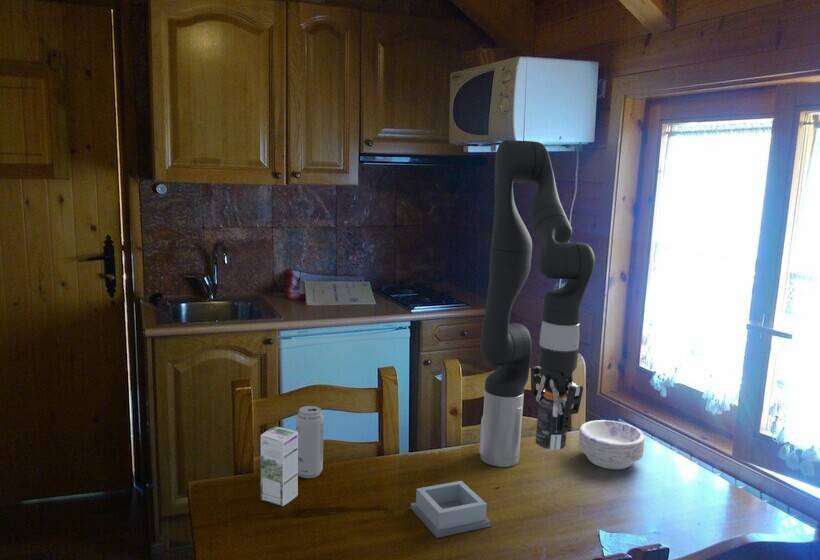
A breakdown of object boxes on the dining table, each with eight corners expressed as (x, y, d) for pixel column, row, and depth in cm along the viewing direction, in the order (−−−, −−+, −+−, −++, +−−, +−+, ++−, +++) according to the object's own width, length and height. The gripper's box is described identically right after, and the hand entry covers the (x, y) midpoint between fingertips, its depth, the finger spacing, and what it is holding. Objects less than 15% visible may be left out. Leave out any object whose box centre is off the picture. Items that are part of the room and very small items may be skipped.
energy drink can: (293, 468, 157) (294, 405, 154) (320, 466, 159) (321, 404, 156) (297, 480, 151) (298, 415, 149) (324, 478, 153) (325, 413, 150)
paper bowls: (567, 463, 166) (570, 432, 165) (590, 443, 178) (592, 414, 177) (630, 482, 157) (634, 449, 156) (649, 460, 170) (653, 429, 168)
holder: (410, 507, 141) (411, 487, 141) (461, 498, 146) (463, 478, 146) (436, 537, 131) (437, 515, 130) (491, 526, 136) (492, 505, 135)
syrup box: (298, 495, 145) (299, 430, 142) (282, 507, 139) (283, 440, 137) (276, 489, 147) (276, 424, 144) (259, 501, 142) (259, 434, 139)
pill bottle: (565, 452, 135) (570, 397, 133) (535, 449, 136) (539, 394, 134) (565, 440, 141) (569, 387, 139) (535, 437, 142) (539, 384, 140)
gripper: (598, 352, 130) (590, 436, 133) (552, 333, 142) (545, 410, 145) (566, 356, 127) (558, 442, 130) (521, 336, 139) (515, 414, 142)
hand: (551, 425), depth 138 cm, fingers closed on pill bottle, 6 cm apart
